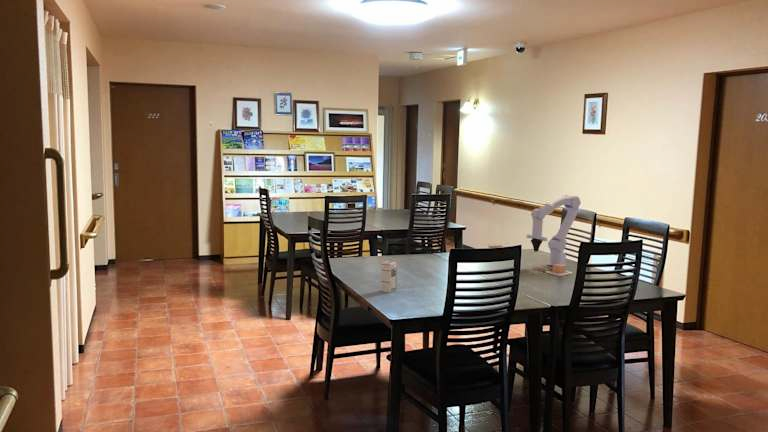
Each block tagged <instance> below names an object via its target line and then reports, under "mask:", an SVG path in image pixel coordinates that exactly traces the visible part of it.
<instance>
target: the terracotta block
mask: <svg viewBox="0 0 768 432" xmlns="http://www.w3.org/2000/svg"><path fill="white" fill-rule="evenodd" d="M552 267H553V271H552V272H554V273H558V274H563V273H565V271H566V267H567V264H566V265H562V264H554V265H553V266H552Z"/></svg>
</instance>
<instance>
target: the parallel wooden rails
mask: <svg viewBox="0 0 768 432" xmlns="http://www.w3.org/2000/svg"><path fill="white" fill-rule="evenodd" d="M532 270H536V271H540V272H545V273H546V271H551V272H553V266H552V267H551V266H550V265H544V264H540V266H535V265H532Z"/></svg>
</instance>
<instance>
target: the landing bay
mask: <svg viewBox="0 0 768 432" xmlns="http://www.w3.org/2000/svg"><path fill="white" fill-rule="evenodd" d="M545 274H551V275H553V276H558V277H564V276H569V275H570V274H571V275H574V273H573V272H572V271H568V270H565V273H563V274H558V273H554V272H553V271H551V270H549V271H546V272H545Z"/></svg>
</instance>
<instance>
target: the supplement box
mask: <svg viewBox="0 0 768 432" xmlns="http://www.w3.org/2000/svg"><path fill="white" fill-rule="evenodd" d="M501 247H504V246H503V244H500V243H498V244H497V243H495V244H494V243H489V244H488V248H501ZM488 248H487V249H488Z"/></svg>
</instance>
